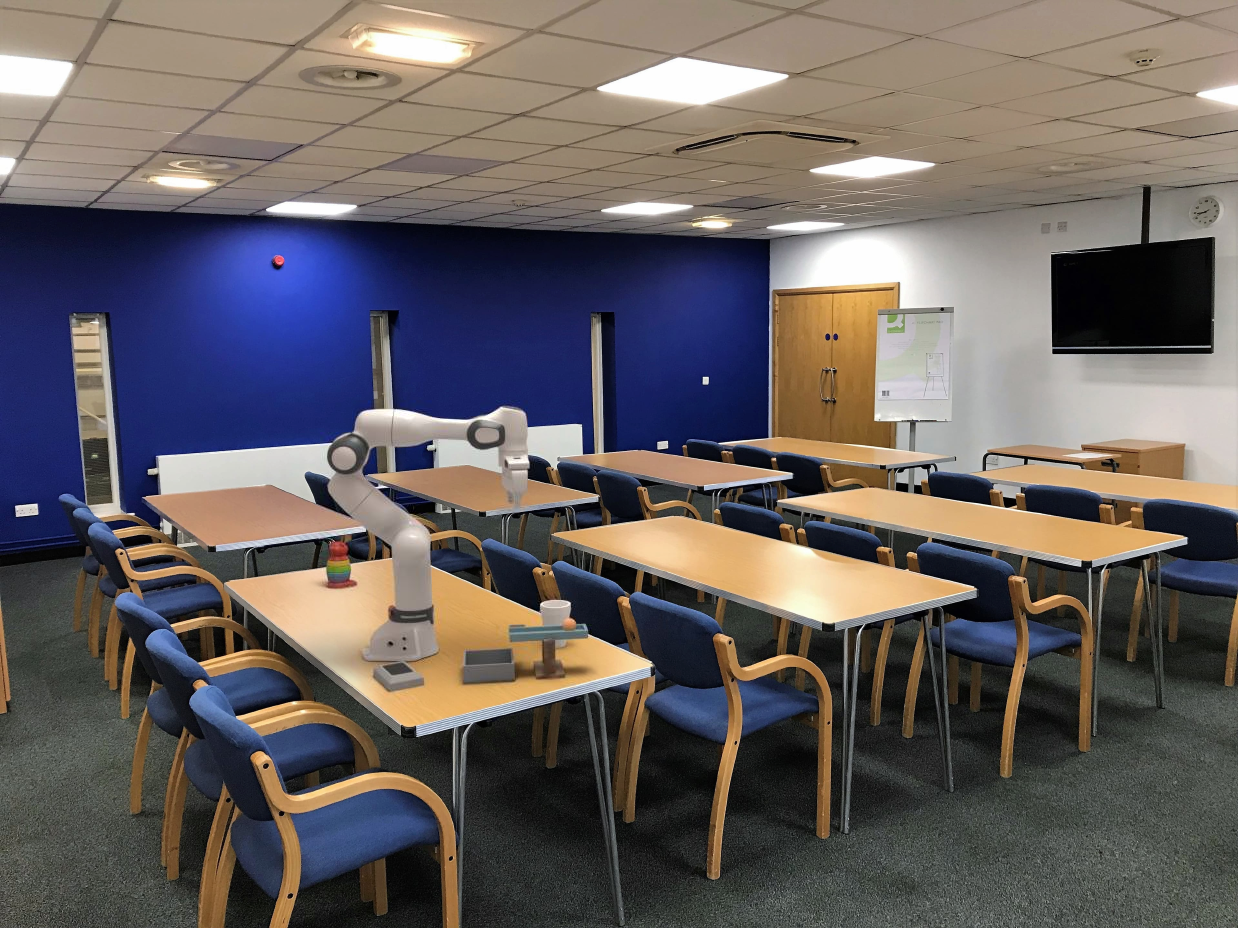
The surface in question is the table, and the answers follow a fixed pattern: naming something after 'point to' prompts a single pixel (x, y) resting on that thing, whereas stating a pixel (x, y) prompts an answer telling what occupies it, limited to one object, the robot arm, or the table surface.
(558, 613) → the foam cup
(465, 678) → the tray
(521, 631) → the chute lever
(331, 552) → the stacking bear
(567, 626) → the ball
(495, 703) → the table surface
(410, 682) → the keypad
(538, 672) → the pivot stand
